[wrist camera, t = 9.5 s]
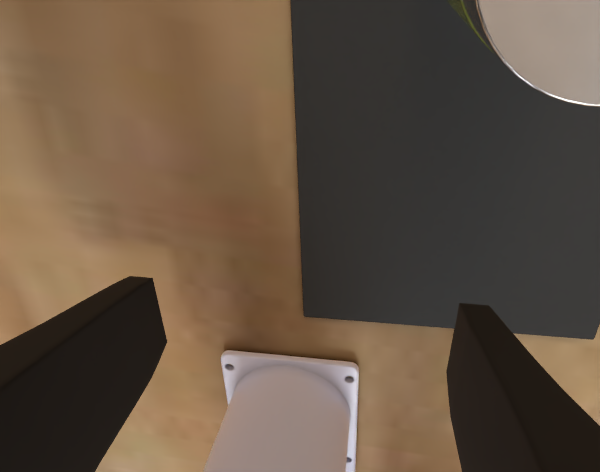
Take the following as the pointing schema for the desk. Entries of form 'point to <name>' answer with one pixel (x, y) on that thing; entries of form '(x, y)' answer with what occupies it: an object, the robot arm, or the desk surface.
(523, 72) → the can
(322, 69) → the mat
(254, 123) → the desk surface
